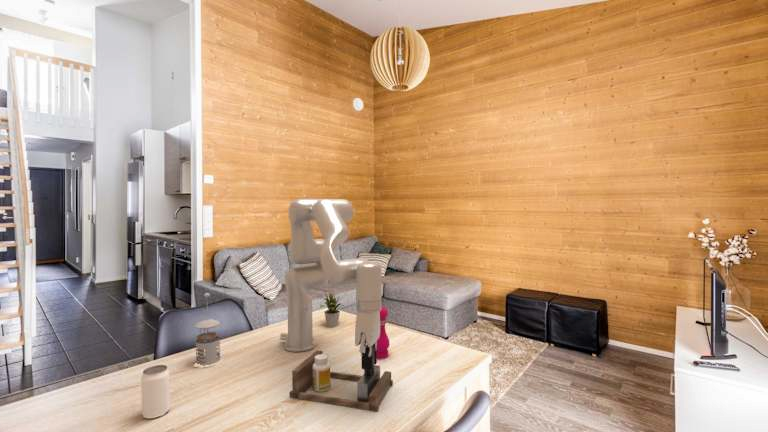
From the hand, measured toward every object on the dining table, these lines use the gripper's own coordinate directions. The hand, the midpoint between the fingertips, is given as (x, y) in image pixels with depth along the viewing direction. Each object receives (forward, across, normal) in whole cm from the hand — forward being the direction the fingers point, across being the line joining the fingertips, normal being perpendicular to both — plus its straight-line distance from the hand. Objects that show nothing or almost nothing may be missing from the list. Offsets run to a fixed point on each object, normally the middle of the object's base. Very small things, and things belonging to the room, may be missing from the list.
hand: (369, 365), depth 110 cm
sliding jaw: (+9, 0, 0) cm, 9 cm away
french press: (+9, -6, -64) cm, 64 cm away
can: (+9, +25, -52) cm, 59 cm away
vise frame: (+9, 0, -8) cm, 12 cm away
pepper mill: (+9, -28, -6) cm, 30 cm away
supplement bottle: (+9, 0, -16) cm, 18 cm away
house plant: (+9, -55, -38) cm, 68 cm away
